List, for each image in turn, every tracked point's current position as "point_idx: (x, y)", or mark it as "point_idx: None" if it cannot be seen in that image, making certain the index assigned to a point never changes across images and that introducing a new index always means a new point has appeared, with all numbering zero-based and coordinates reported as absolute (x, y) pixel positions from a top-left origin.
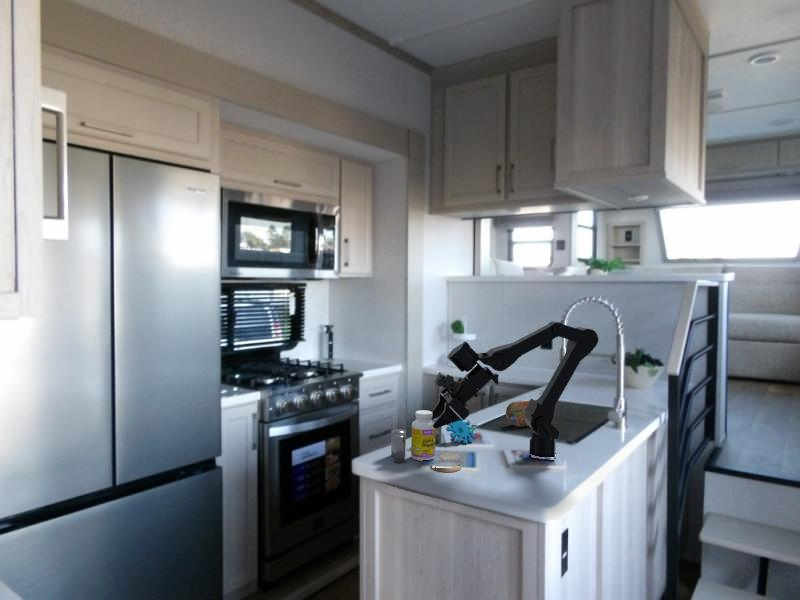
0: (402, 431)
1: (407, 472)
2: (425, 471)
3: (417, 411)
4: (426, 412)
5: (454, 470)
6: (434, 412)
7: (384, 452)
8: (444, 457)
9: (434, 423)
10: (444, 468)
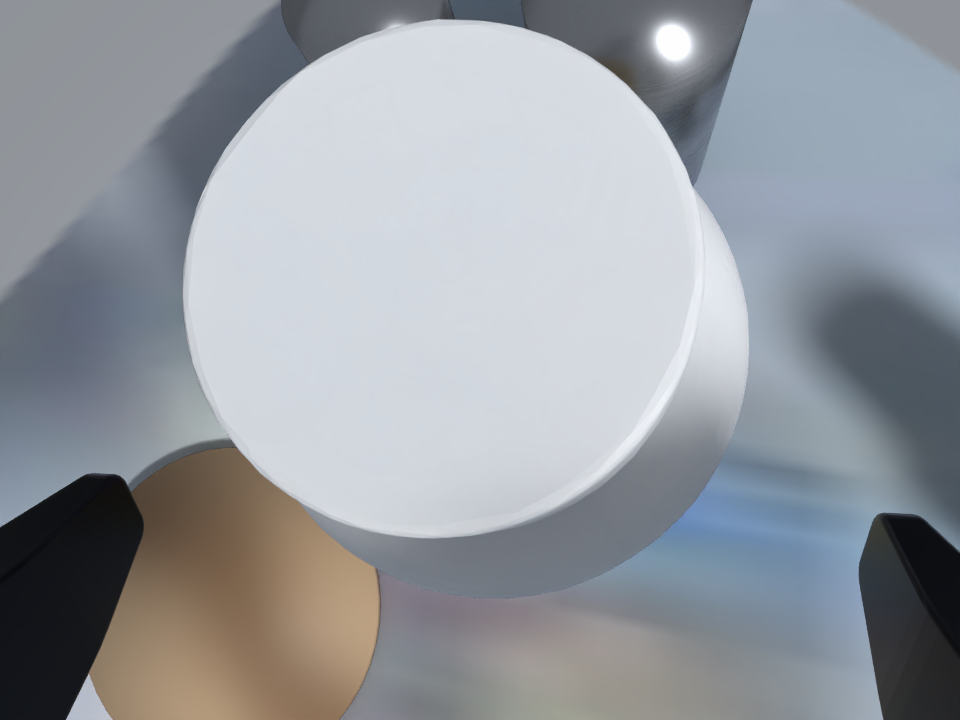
0: (618, 33)
1: (149, 217)
2: (150, 379)
3: (530, 71)
4: (398, 339)
5: (93, 666)
6: (954, 702)
7: (755, 15)
8: (551, 662)
9: (46, 507)
10: (159, 574)
